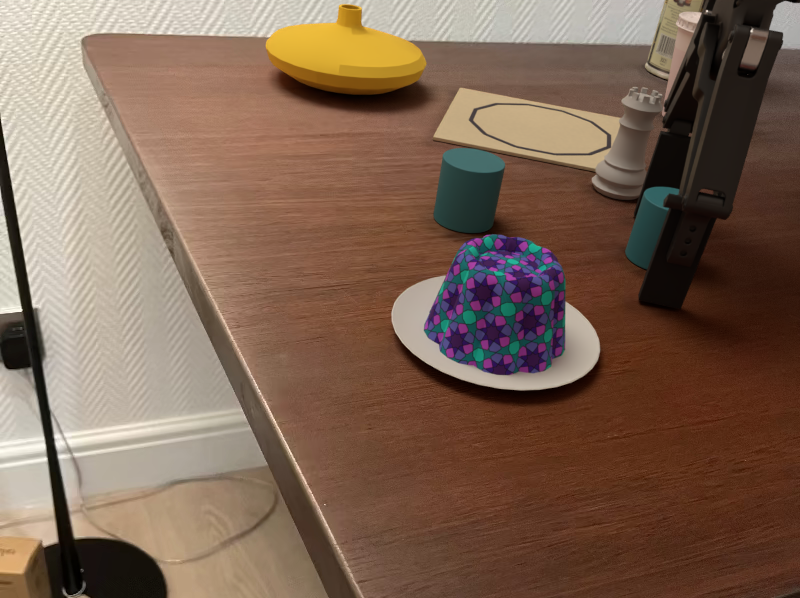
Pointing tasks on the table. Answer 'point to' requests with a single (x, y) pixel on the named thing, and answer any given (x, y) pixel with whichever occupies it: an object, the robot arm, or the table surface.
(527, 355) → the pudding
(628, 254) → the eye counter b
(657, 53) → the coffee can
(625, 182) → the rook chess piece
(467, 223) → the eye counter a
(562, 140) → the sheet
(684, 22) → the smoothie
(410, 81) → the vase
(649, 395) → the table surface
